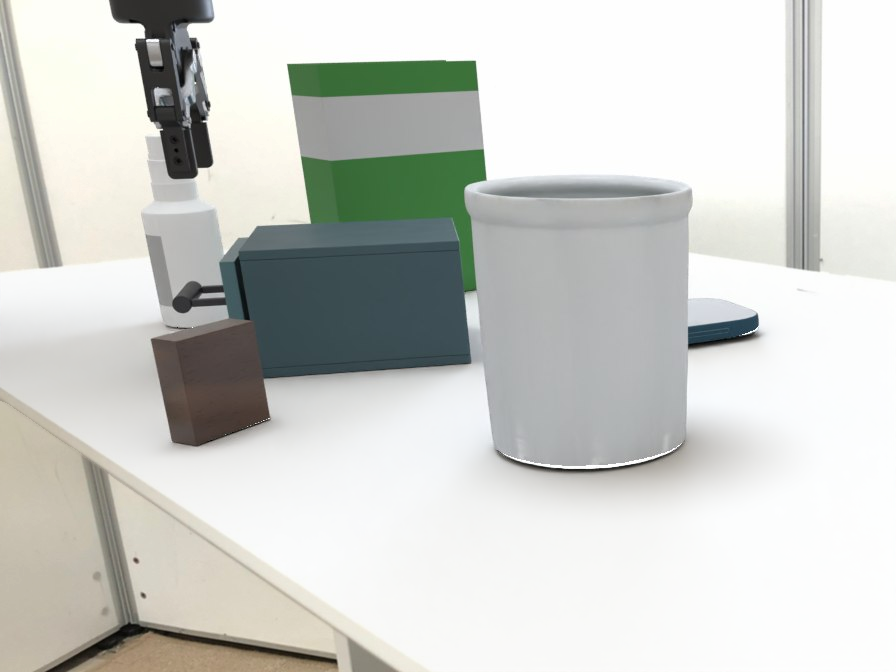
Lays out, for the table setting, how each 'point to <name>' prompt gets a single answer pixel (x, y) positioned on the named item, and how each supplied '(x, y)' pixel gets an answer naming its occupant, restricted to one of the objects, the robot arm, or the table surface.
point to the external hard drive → (718, 320)
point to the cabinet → (356, 296)
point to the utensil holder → (583, 314)
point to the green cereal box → (390, 142)
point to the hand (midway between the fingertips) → (192, 173)
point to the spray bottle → (181, 241)
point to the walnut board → (211, 380)
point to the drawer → (219, 288)
